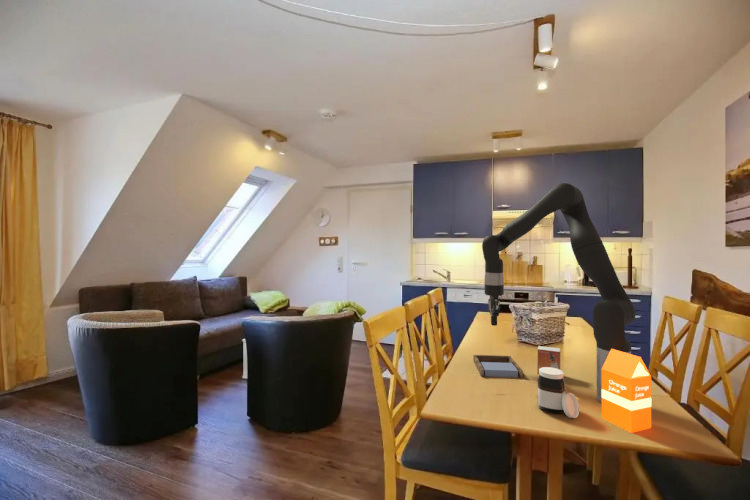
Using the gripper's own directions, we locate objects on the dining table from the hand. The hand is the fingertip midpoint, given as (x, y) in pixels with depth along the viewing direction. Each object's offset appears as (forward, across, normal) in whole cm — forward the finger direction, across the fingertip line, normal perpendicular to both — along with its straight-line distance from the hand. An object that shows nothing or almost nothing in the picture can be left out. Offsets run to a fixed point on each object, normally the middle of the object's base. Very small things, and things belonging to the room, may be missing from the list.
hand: (494, 325), depth 146 cm
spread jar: (+18, -38, -11) cm, 43 cm away
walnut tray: (+18, -4, 0) cm, 18 cm away
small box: (+18, -8, -19) cm, 27 cm away
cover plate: (+17, -8, 0) cm, 19 cm away
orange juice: (+17, -43, -27) cm, 54 cm away
